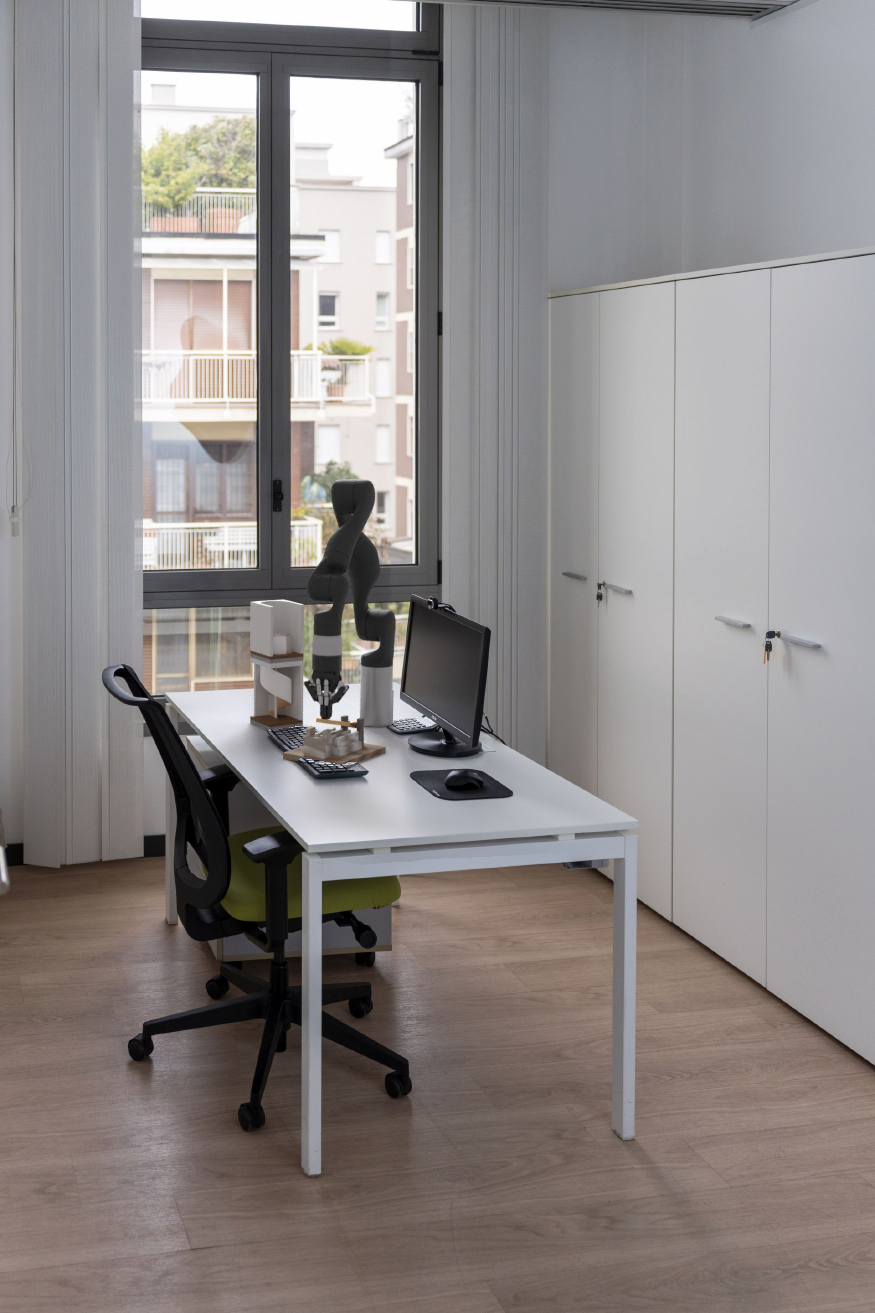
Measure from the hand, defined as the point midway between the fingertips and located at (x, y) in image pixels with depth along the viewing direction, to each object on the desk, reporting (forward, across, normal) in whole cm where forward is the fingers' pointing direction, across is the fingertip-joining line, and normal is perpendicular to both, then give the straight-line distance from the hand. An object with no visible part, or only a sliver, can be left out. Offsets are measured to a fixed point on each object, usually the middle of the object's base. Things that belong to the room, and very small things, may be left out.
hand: (325, 719), depth 339 cm
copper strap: (+3, 0, -5) cm, 6 cm away
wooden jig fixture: (+10, 0, -5) cm, 11 cm away
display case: (+10, +33, -24) cm, 42 cm away
